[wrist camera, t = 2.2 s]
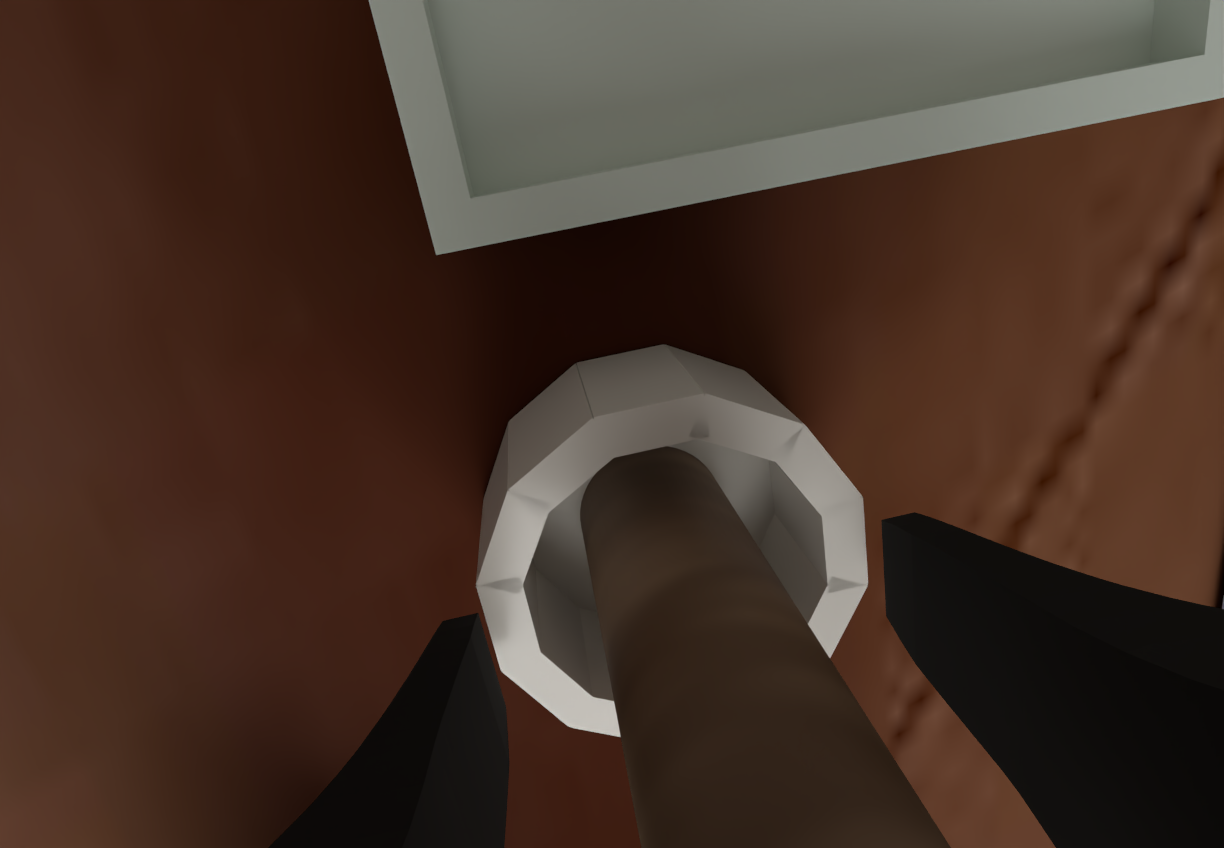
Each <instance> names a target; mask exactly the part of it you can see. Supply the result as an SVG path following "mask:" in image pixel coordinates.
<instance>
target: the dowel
mask: <svg viewBox="0 0 1224 848" xmlns="http://www.w3.org/2000/svg"><path fill="white" fill-rule="evenodd" d="M580 522H581V528H582V534H583V539H584V544H585V550H586V555H587V560H588V566H589V571H590V576H591V581H592V587H593V592H594V597H595V603H596V608H597V613H598V619H599V624H600V629H601V635H602V640H603V645H604V651H605V656H606V661H607V667H608V672H609V677H610V682H611V688H612V693H613V698H614V704H615V709H616V714H617V720H618V725H619V730H620V736H621V741H622V746H623V752H624V757H625V762H626V768H627V773H628V778H629V783H630V789H631V794H632V799H633V805H634V810H635V815H636V821H637V826H638V831H639V837H640V842H641V847H642V848H951V847H950V846H949V844H948V843H947V841H946V840H945V838H944V836H943V835H942V833H941V832H940V830H939V829H938V827H937V825H936V824H935V822H934V821H933V819H932V818H931V816H930V814H929V813H928V811H927V810H926V808H925V807H924V805H923V804H922V802H921V800H920V799H919V797H918V796H917V794H916V793H915V791H914V789H913V788H912V786H911V785H910V783H909V782H908V780H907V778H906V777H905V775H904V774H903V772H902V771H901V769H900V768H899V766H898V764H897V763H896V761H895V760H894V758H893V757H892V755H891V753H890V752H889V750H888V749H887V747H886V746H885V744H884V742H883V741H882V739H881V738H880V736H879V735H878V733H877V732H876V730H875V728H874V727H873V725H872V724H871V722H870V721H869V719H868V717H867V716H866V714H865V713H864V711H863V710H862V708H861V706H860V705H859V703H858V702H857V700H856V699H855V697H854V696H853V694H852V692H851V691H850V689H849V688H848V686H847V685H846V683H845V681H844V680H843V678H842V677H841V675H840V674H839V672H838V670H837V669H836V667H835V666H834V664H833V663H832V661H831V660H830V658H829V656H828V655H827V653H826V652H825V650H824V649H823V647H822V645H821V644H820V642H819V641H818V639H817V638H816V636H815V635H814V633H813V631H812V630H811V628H810V627H809V625H808V624H807V622H806V620H805V619H804V617H803V616H802V614H801V613H800V611H799V609H798V608H797V606H796V605H795V603H794V602H793V600H792V599H791V597H790V595H789V594H788V592H787V591H786V589H785V588H784V586H783V584H782V583H781V581H780V580H779V578H778V577H777V575H776V573H775V572H774V570H773V569H772V567H771V566H770V564H769V563H768V561H767V559H766V558H765V556H764V555H763V553H762V552H761V550H760V548H759V547H758V545H757V544H756V542H755V541H754V539H753V537H752V536H751V534H750V533H749V531H748V530H747V528H746V527H745V525H744V523H743V522H742V520H741V519H740V517H739V516H738V514H737V512H736V511H735V509H734V508H733V506H732V505H731V503H730V501H729V500H728V498H727V497H726V495H725V494H724V492H723V491H722V489H721V487H720V486H719V484H718V483H717V481H716V480H715V478H714V476H713V475H712V473H711V472H710V471H709V469H708V468H707V467H706V466H705V465H704V464H703V463H702V462H701V461H700V460H699V459H697V458H696V457H695V456H693V455H691V454H689V453H687V452H686V451H683V450H680V449H678V448H674V447H669V446H665V447H660V448H656V449H651V450H647V451H642V452H638V453H633V454H629V455H624V456H619V457H615V458H613V459H612V460H611V461H609V462H608V463H607V464H606V465H605V466H604V467H602V468H601V469H600V470H599V471H598V472H597V473H596V474H595V475H594V476H593V478H592V479H591V481H590V482H589V484H588V486H587V488H586V490H585V492H584V495H583V498H582V502H581V508H580Z"/></svg>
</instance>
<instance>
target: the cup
mask: <svg viewBox="0 0 1224 848" xmlns="http://www.w3.org/2000/svg"><path fill="white" fill-rule="evenodd" d="M665 446H669V447H674V448H678V449H680V450H683V451H686V452H687V453H689V454H691V455H693V456H695V457H696V458H697V459H699V460H700V461H701V462H702V463H703V464H704V465H705V466H706V467H707V468H708V469H709V471H710V472H711V473H712V475H713V476H714V478H715V480H716V481H717V483H718V484H719V486H720V487H721V489H722V491H723V492H724V494H725V495H726V497H727V498H728V500H729V501H730V503H731V505H732V506H733V508H734V509H735V511H736V512H737V514H738V516H739V517H740V519H741V520H742V522H743V523H744V525H745V527H746V528H747V530H748V531H749V533H750V534H751V536H752V537H753V539H754V541H755V542H756V544H757V545H758V547H759V548H760V550H761V552H762V553H763V555H764V556H765V558H766V559H767V561H768V563H769V564H770V566H771V567H772V569H773V570H774V572H775V573H776V575H777V577H778V578H779V580H780V581H781V583H782V584H783V586H784V588H785V589H786V591H787V592H788V594H789V595H790V597H791V599H792V600H793V602H794V603H795V605H796V606H797V608H798V609H799V611H800V613H801V614H802V616H803V617H804V619H805V620H806V622H807V624H808V625H809V627H810V628H811V630H812V631H813V633H814V635H815V636H816V638H817V639H818V641H819V642H820V644H821V645H822V647H823V649H824V650H825V652H826V653H827V655H828V656H829V658H830V657H831V656H832V654H833V652H834V650H835V648H836V646H837V644H838V642H839V640H840V638H841V636H842V634H843V632H844V630H845V629H846V627H847V625H848V623H849V621H850V619H851V617H852V615H853V613H854V611H855V609H856V607H857V605H858V603H859V602H860V600H861V598H862V596H863V594H864V592H865V590H866V588H867V586H868V585H867V584H868V574H867V557H866V541H865V524H864V508H863V497H862V495H861V494H860V493H859V491H858V490H857V489H856V488H855V486H854V485H853V484H852V483H851V481H850V480H849V479H848V478H847V477H846V475H845V474H844V473H843V472H842V470H841V469H840V468H839V467H838V465H837V464H836V463H835V462H834V460H833V459H832V458H831V457H830V455H829V454H828V453H827V452H826V450H825V449H824V448H823V447H822V445H821V444H820V443H819V442H818V440H817V439H816V438H815V437H814V435H813V434H812V433H811V432H810V430H809V429H808V428H807V427H806V425H805V424H804V423H802V422H801V421H800V420H799V419H798V418H797V417H796V416H795V415H793V414H792V413H791V412H790V411H789V410H788V409H787V408H786V407H785V406H783V405H782V404H781V403H780V402H779V401H778V400H777V399H776V398H775V397H773V396H772V395H771V394H770V393H769V392H768V391H767V390H766V389H765V388H763V387H762V386H761V385H760V384H759V383H758V382H757V381H756V380H755V379H753V378H752V377H751V376H750V375H749V374H748V373H747V372H746V371H744V370H742V369H739V368H736V367H732V366H729V365H726V364H723V363H720V362H717V361H714V360H711V359H708V358H705V357H702V356H699V355H696V354H693V353H690V352H687V351H684V350H681V349H678V348H674V347H671V346H668V345H664V344H662V345H658V346H653V347H648V348H643V349H639V350H634V351H629V352H624V353H620V354H615V355H610V356H606V357H601V358H596V359H591V360H587V361H582V362H577V365H576V363H575V364H574V365H573V366H572V367H570V368H569V369H568V370H567V371H566V372H565V373H563V374H562V375H561V376H560V377H559V378H558V379H557V380H555V381H554V382H553V383H552V384H551V385H550V386H549V387H547V388H546V389H545V390H544V391H543V392H542V393H541V394H539V395H538V396H537V397H536V398H535V399H534V400H532V401H531V402H530V403H529V404H528V405H527V406H526V407H524V408H523V409H522V410H521V411H520V412H519V413H518V414H516V415H515V416H514V417H513V418H512V419H511V420H510V421H509V422H508V425H507V428H506V431H505V434H504V437H503V440H502V443H501V446H500V449H499V452H498V456H497V459H496V462H495V465H494V468H493V471H492V474H491V477H490V480H489V483H488V486H487V489H486V492H485V495H484V499H483V510H482V522H481V533H480V545H479V556H478V568H477V579H476V587H477V591H478V594H479V598H480V601H481V604H482V608H483V611H484V615H485V618H486V621H487V625H488V628H489V632H490V635H491V638H492V642H493V645H494V649H495V652H496V655H497V659H498V662H499V666H500V669H501V670H502V672H503V673H504V674H505V675H506V676H508V677H509V678H510V679H511V680H512V681H514V682H515V683H516V684H517V685H519V686H520V687H521V688H522V689H523V690H525V691H526V692H527V693H528V694H529V695H531V696H532V697H533V698H534V699H536V700H537V701H538V702H539V703H540V704H542V705H543V706H544V707H545V708H546V709H548V710H549V711H550V712H551V713H553V714H554V715H555V716H556V717H557V718H559V719H560V720H561V721H562V722H563V723H565V724H566V725H567V726H568V727H569V726H570V728H576V729H581V730H586V731H592V732H597V733H602V734H607V735H613V736H618V737H621V736H620V730H619V725H618V720H617V714H616V709H615V704H614V698H613V693H612V688H611V682H610V677H609V672H608V667H607V661H606V656H605V651H604V645H603V640H602V635H601V629H600V624H599V619H598V613H597V608H596V603H595V597H594V592H593V587H592V581H591V576H590V571H589V566H588V560H587V555H586V550H585V544H584V539H583V534H582V528H581V522H580V508H581V502H582V498H583V495H584V492H585V490H586V488H587V486H588V484H589V482H590V481H591V479H592V478H593V476H594V475H595V474H596V473H597V472H598V471H599V470H600V469H601V468H602V467H604V466H605V465H606V464H607V463H608V462H609V461H611V460H612V459H613V458H615V457H619V456H624V455H629V454H633V453H638V452H642V451H647V450H651V449H656V448H660V447H665Z"/></svg>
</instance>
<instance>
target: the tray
mask: <svg viewBox="0 0 1224 848" xmlns="http://www.w3.org/2000/svg"><path fill="white" fill-rule="evenodd" d="M369 4H370V7H371V11H372V15H373V19H374V23H375V26H376V30H377V34H378V38H379V41H380V45H381V49H382V53H383V57H384V60H385V64H386V68H387V72H388V75H389V79H390V83H391V87H392V91H393V94H394V98H395V102H396V106H397V109H398V113H399V117H400V121H401V124H402V128H403V132H404V136H405V140H406V143H407V147H408V151H409V155H410V158H411V162H412V166H413V170H414V174H415V177H416V181H417V185H418V189H419V192H420V196H421V200H422V204H423V208H424V211H425V215H426V219H427V223H428V226H429V230H430V234H431V238H432V241H433V245H434V249H435V253H436V255H440V254H445V253H450V252H455V251H460V250H465V249H470V248H475V247H480V246H485V245H490V244H495V243H500V242H505V241H510V240H515V239H520V238H525V237H530V236H535V235H540V234H545V233H550V232H555V231H560V230H565V229H570V228H575V227H580V226H585V225H590V224H595V223H600V222H604V221H609V220H614V219H619V218H624V217H629V216H634V215H639V214H644V213H649V212H654V211H659V210H664V209H669V208H674V207H679V206H684V205H689V204H694V203H699V202H704V201H709V200H714V199H719V198H724V197H729V196H734V195H739V194H744V193H749V192H754V191H759V190H764V189H769V188H774V187H779V186H784V185H789V184H794V183H799V182H804V181H809V180H814V179H819V178H824V177H829V176H834V175H839V174H844V173H849V172H854V171H859V170H864V169H869V168H874V167H879V166H884V165H889V164H894V163H899V162H904V161H909V160H914V159H919V158H924V157H929V156H934V155H939V154H944V153H949V152H954V151H959V150H964V149H969V148H974V147H979V146H984V145H989V144H994V143H999V142H1004V141H1009V140H1014V139H1019V138H1024V137H1029V136H1034V135H1039V134H1044V133H1049V132H1054V131H1059V130H1064V129H1069V128H1074V127H1079V126H1084V125H1089V124H1094V123H1099V122H1104V121H1109V120H1114V119H1119V118H1124V117H1129V116H1134V115H1139V114H1144V113H1149V112H1154V111H1159V110H1164V109H1169V108H1174V107H1179V106H1184V105H1189V104H1194V103H1199V102H1204V101H1209V100H1214V99H1219V98H1224V0H369Z"/></svg>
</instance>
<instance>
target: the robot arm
mask: <svg viewBox="0 0 1224 848" xmlns="http://www.w3.org/2000/svg"><path fill="white" fill-rule="evenodd" d="M882 539H883V559H884V579H885V599H886V616H887V618H888V620H889V621H890V623H891V625H892V626H893V628H894V630H895V631H896V633H897V635H898V637H899V638H900V640H901V642H902V643H903V645H904V646H905V648H906V650H907V651H908V653H909V654H910V656H911V657H912V659H913V661H914V662H915V664H916V665H917V666H918V668H919V669H920V670H921V671H922V673H923V674H924V675H925V676H926V678H927V679H928V680H929V681H930V683H931V684H932V685H933V686H934V688H935V689H936V690H937V691H938V693H939V694H940V695H941V696H942V698H943V699H944V700H945V701H946V702H947V704H948V705H949V706H950V707H951V709H952V710H953V711H954V712H955V713H956V715H957V716H958V717H959V718H960V720H961V721H962V722H963V723H964V724H965V726H966V727H967V728H968V729H969V730H970V732H971V733H972V734H973V735H974V737H975V738H976V739H977V740H978V741H979V743H980V744H981V745H982V746H983V748H984V749H985V750H986V751H987V752H988V754H989V755H990V756H991V757H992V759H993V760H994V761H995V762H996V763H997V765H998V766H999V767H1000V768H1001V770H1002V771H1003V772H1004V773H1005V775H1006V776H1007V777H1008V779H1009V780H1010V781H1011V783H1012V784H1013V785H1014V787H1015V788H1016V789H1017V791H1018V792H1019V793H1020V795H1021V796H1022V798H1023V799H1024V801H1025V802H1026V804H1027V805H1028V807H1029V808H1030V810H1031V811H1032V813H1033V814H1034V816H1035V817H1036V818H1037V820H1038V821H1039V823H1040V824H1041V826H1042V827H1043V829H1044V830H1045V832H1046V833H1047V835H1048V836H1049V838H1050V839H1051V841H1052V842H1053V844H1054V845H1055V847H1056V848H1224V597H1223V604H1222V609H1220V608H1215V607H1210V606H1205V605H1200V604H1196V603H1191V602H1187V601H1182V600H1178V599H1173V598H1169V597H1165V596H1162V595H1158V594H1154V593H1150V592H1146V591H1142V590H1138V589H1135V588H1131V587H1127V586H1123V585H1120V584H1116V583H1113V582H1109V581H1106V580H1102V579H1099V578H1096V577H1093V576H1090V575H1087V574H1084V573H1081V572H1077V571H1074V570H1071V569H1068V568H1065V567H1062V566H1059V565H1056V564H1053V563H1050V562H1048V561H1045V560H1042V559H1039V558H1036V557H1034V556H1031V555H1028V554H1025V553H1023V552H1020V551H1017V550H1015V549H1012V548H1009V547H1007V546H1004V545H1001V544H999V543H996V542H994V541H991V540H988V539H986V538H983V537H981V536H978V535H976V534H973V533H971V532H968V531H965V530H963V529H960V528H958V527H955V526H952V525H950V524H947V523H945V522H942V521H939V520H936V519H934V518H931V517H928V516H925V515H921V514H918V513H915V512H914V513H910V514H906V515H901V516H897V517H893V518H888V519H884V520H882ZM508 778H509V748H508V731H507V716H506V705H505V702H504V699H503V695H502V692H501V689H500V685H499V682H498V678H497V675H496V672H495V668H494V665H493V662H492V658H491V655H490V652H489V648H488V645H487V641H486V638H485V635H484V631H483V628H482V625H481V621H480V618H479V614H478V613H476V614H472V615H467V616H463V617H459V618H454V619H450V620H446V621H443V622H442V623H441V625H440V626H439V627H438V629H437V631H436V632H435V634H434V635H433V637H432V639H431V640H430V642H429V643H428V645H427V647H426V648H425V650H424V652H423V653H422V655H421V657H420V658H419V660H418V662H417V663H416V665H415V666H414V668H413V670H412V671H411V673H410V674H409V676H408V678H407V679H406V681H405V682H404V684H403V685H402V687H401V688H400V690H399V691H398V693H397V694H396V696H395V697H394V699H393V701H392V702H391V704H390V705H389V707H388V708H387V710H386V711H385V713H384V714H383V715H382V717H381V718H380V720H379V721H378V722H377V724H376V725H375V727H374V728H373V729H372V731H371V732H370V733H369V735H368V736H367V737H366V739H365V740H364V742H363V743H362V744H361V746H360V747H359V748H358V750H357V751H356V752H355V754H354V755H353V756H352V757H351V759H350V760H349V761H348V762H347V764H346V765H345V766H344V767H343V769H342V770H341V771H340V772H339V773H338V775H337V776H336V777H335V778H334V779H333V780H332V781H331V783H330V784H329V785H328V786H327V787H326V788H325V789H324V791H323V792H322V793H321V794H320V795H319V796H318V797H317V799H316V800H315V801H314V802H313V803H312V804H311V805H310V806H309V807H308V808H307V809H306V811H305V812H304V813H303V814H302V815H301V816H300V817H299V818H298V819H297V820H296V821H295V822H294V823H293V824H292V825H291V826H290V827H289V828H288V829H287V830H286V831H285V832H284V833H283V834H282V835H281V836H280V837H279V838H278V839H277V840H276V841H275V842H274V843H273V844H272V845H271V846H270V847H269V848H504V842H505V827H506V811H507V795H508Z"/></svg>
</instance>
